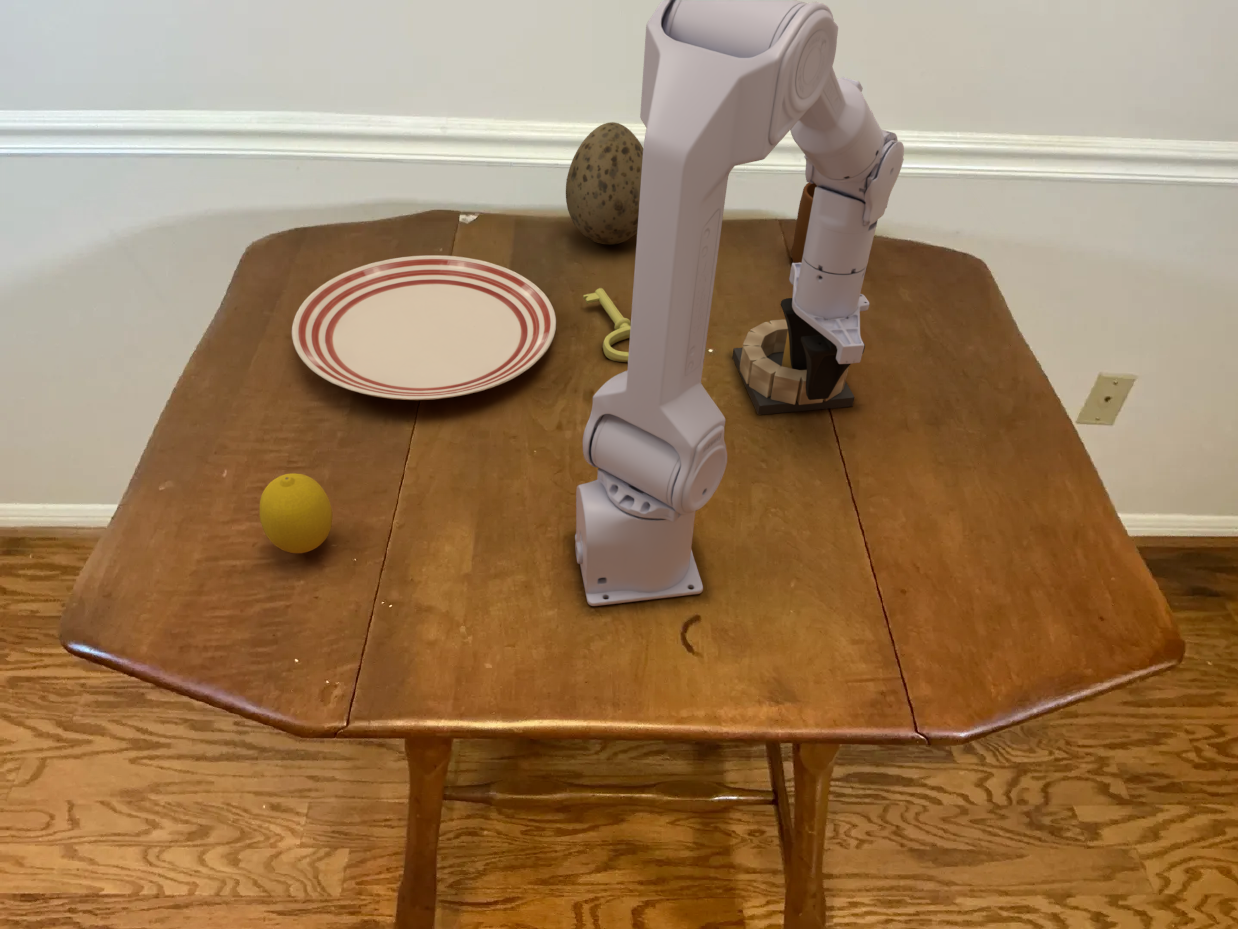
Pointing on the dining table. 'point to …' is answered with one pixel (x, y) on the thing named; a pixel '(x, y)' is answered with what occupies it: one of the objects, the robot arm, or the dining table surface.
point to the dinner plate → (424, 327)
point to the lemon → (295, 513)
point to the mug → (802, 222)
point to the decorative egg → (606, 184)
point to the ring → (776, 366)
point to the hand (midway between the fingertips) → (809, 382)
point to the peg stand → (773, 406)
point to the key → (620, 326)
